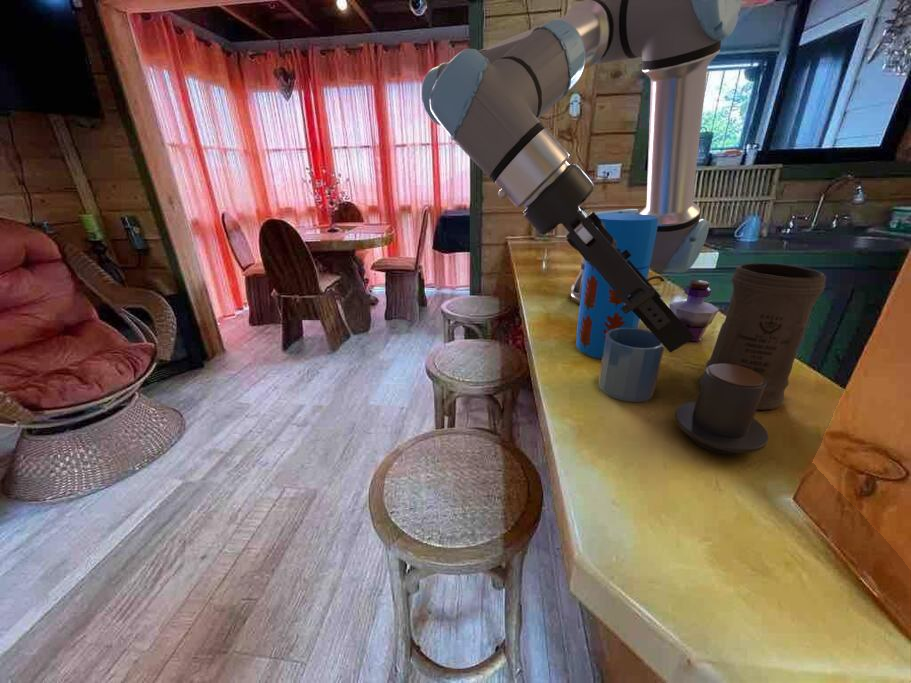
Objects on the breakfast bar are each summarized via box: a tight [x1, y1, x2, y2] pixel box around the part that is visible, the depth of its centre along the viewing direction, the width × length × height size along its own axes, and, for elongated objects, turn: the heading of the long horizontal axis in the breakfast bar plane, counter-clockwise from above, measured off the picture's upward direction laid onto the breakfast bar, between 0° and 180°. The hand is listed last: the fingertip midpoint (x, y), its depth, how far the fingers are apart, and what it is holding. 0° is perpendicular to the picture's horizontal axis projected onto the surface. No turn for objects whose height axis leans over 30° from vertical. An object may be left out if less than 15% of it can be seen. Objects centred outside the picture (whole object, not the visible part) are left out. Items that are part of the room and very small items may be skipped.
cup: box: [598, 327, 665, 403], centre depth 59 cm, size 8×8×9 cm
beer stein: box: [699, 262, 827, 411], centre depth 57 cm, size 15×11×20 cm
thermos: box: [575, 213, 658, 360], centre depth 69 cm, size 11×11×25 cm
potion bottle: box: [669, 279, 720, 343], centre depth 76 cm, size 9×9×12 cm
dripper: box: [674, 363, 769, 455], centre depth 47 cm, size 10×10×10 cm
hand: (664, 320), depth 45 cm, fingers open, 13 cm apart
